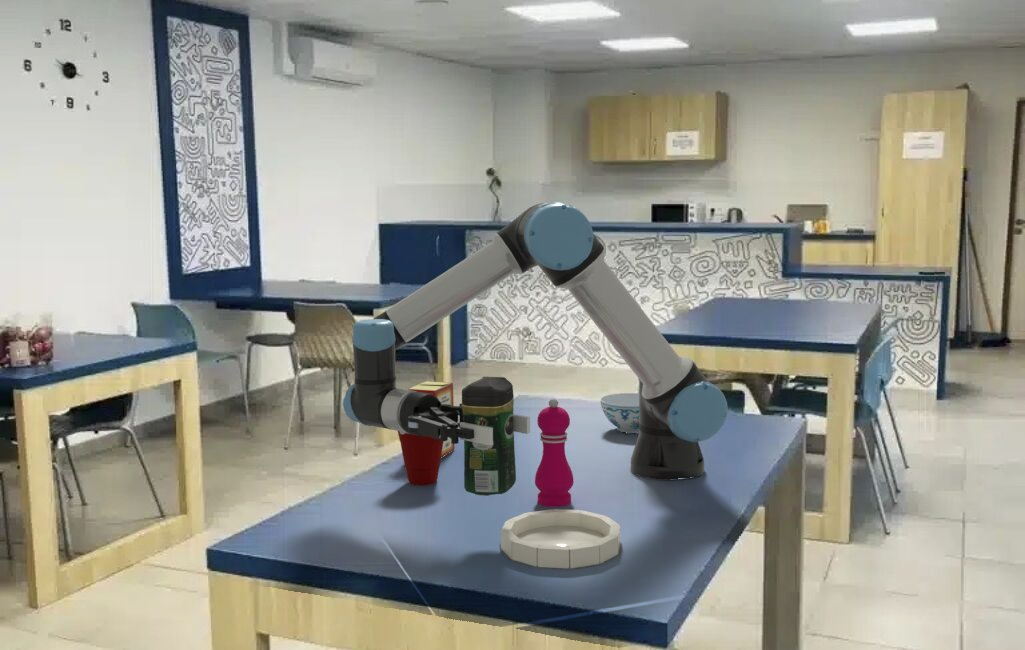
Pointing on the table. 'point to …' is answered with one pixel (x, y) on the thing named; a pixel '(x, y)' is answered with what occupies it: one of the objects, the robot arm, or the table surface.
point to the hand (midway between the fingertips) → (510, 430)
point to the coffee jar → (493, 463)
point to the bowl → (560, 538)
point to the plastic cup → (421, 458)
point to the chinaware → (622, 411)
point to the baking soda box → (445, 397)
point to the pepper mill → (554, 458)
